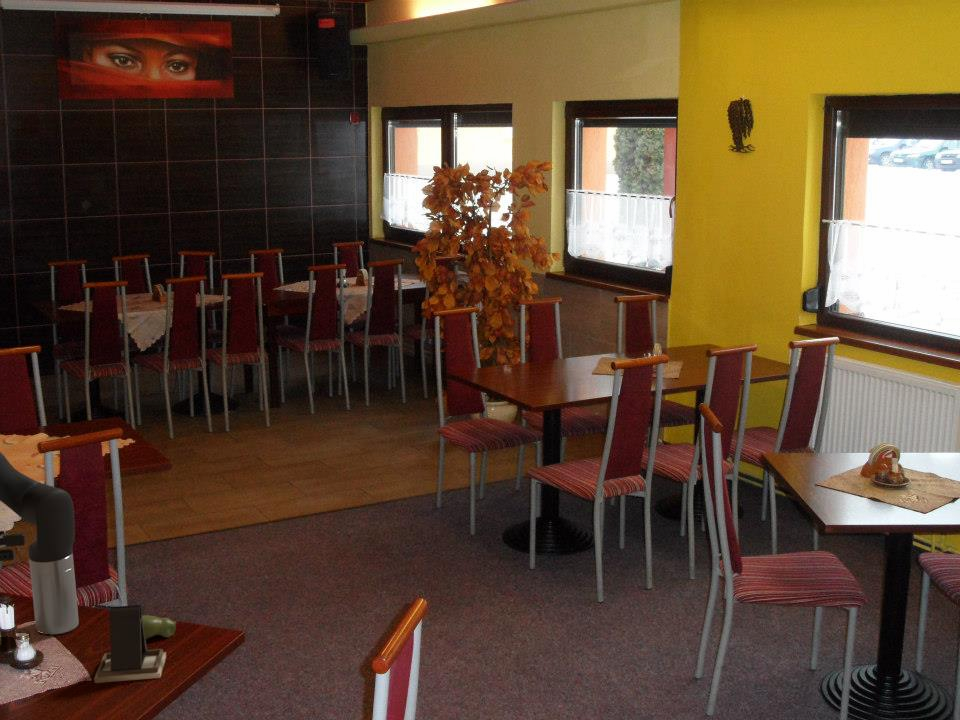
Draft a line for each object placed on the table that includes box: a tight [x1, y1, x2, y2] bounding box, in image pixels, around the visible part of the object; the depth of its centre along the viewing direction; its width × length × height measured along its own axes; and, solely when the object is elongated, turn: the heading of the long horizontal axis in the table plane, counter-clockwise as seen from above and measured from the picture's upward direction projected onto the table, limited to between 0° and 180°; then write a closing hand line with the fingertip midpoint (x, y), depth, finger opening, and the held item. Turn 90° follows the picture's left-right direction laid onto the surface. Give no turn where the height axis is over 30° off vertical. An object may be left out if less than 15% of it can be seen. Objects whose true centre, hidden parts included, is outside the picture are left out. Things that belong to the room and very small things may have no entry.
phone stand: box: [108, 604, 148, 671], centre depth 234 cm, size 9×6×12 cm, turn 8°
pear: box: [142, 614, 177, 640], centre depth 251 cm, size 6×5×10 cm
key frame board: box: [93, 648, 167, 684], centre depth 236 cm, size 10×13×2 cm
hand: (19, 546), depth 229 cm, fingers open, 8 cm apart
